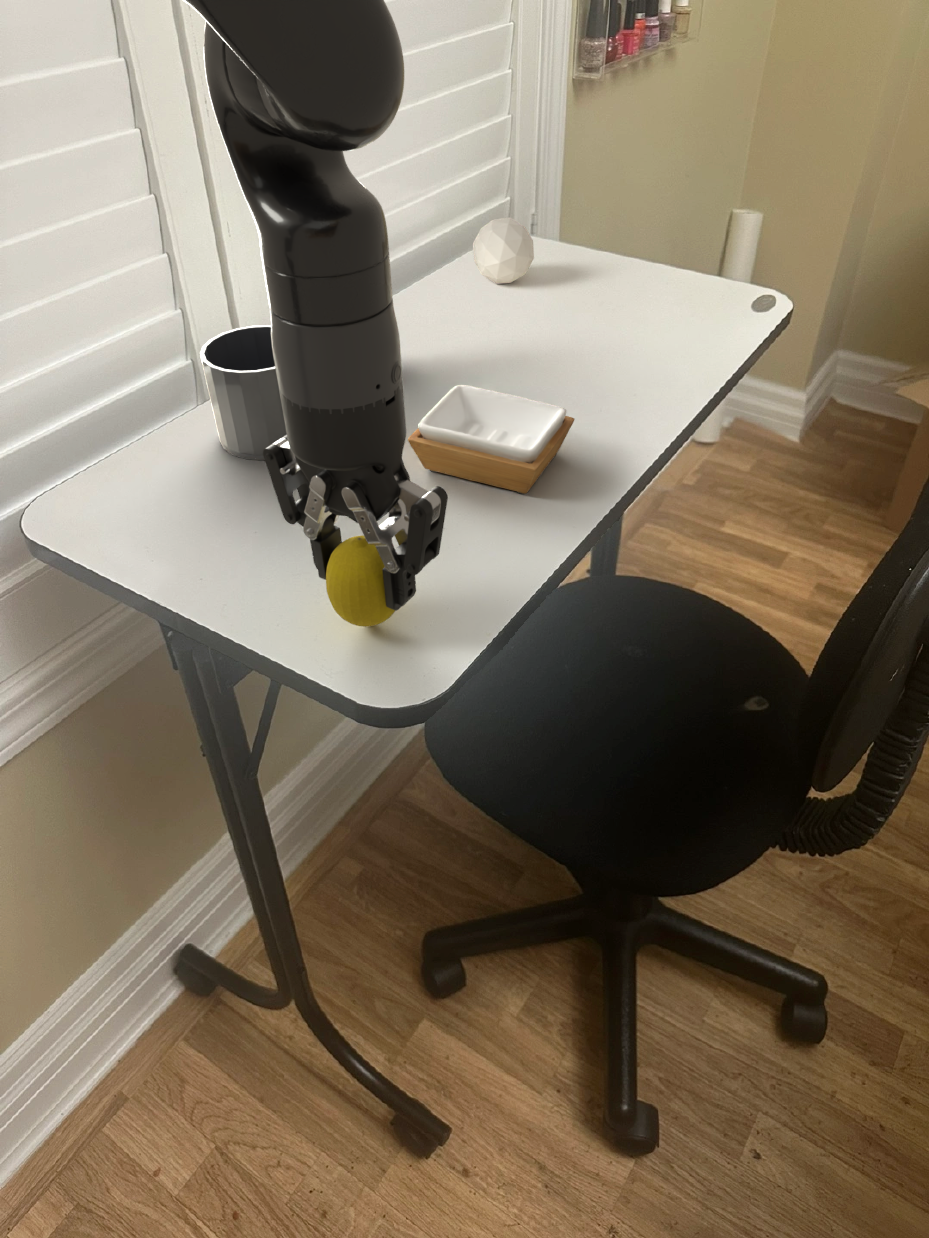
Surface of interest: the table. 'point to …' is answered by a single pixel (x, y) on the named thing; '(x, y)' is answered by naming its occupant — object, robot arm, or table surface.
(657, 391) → the table surface
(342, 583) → the lemon
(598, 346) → the table surface
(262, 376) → the steel cup
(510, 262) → the ball
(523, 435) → the soap dish
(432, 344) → the table surface
